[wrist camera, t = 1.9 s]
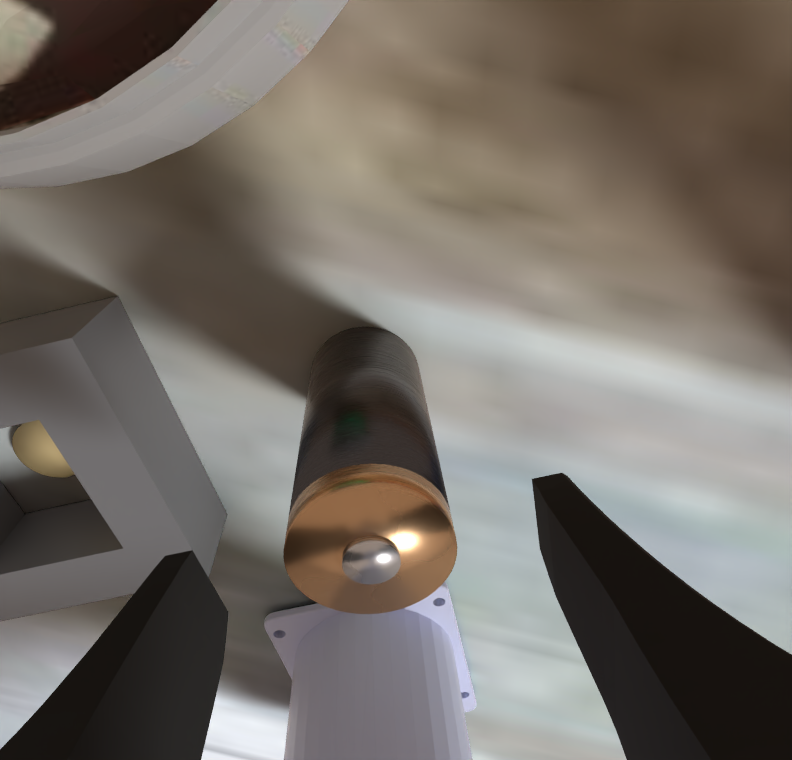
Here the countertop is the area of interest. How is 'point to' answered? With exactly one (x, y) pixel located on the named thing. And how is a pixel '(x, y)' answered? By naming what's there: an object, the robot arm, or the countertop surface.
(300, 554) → the battery cell
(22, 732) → the robot arm
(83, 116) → the food container
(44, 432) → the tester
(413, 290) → the countertop surface
